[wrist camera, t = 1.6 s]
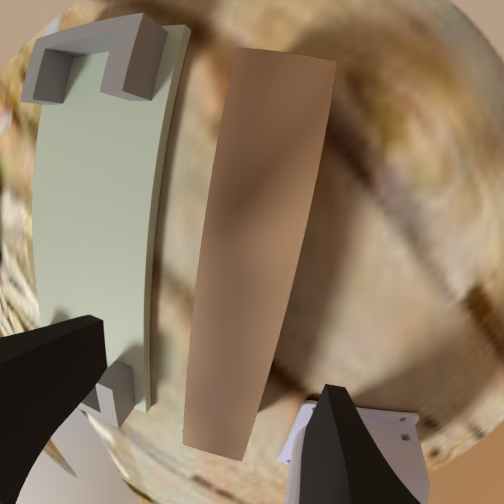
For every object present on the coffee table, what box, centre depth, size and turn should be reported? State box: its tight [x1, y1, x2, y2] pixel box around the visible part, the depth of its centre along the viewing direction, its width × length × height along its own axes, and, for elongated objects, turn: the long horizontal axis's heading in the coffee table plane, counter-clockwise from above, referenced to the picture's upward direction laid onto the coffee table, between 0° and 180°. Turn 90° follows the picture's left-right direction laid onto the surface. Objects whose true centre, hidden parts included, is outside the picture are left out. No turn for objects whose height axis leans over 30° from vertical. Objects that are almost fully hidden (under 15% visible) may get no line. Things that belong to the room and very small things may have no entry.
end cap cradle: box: [20, 13, 191, 429], centre depth 17 cm, size 11×28×4 cm, turn 169°
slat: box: [183, 48, 337, 461], centre depth 15 cm, size 4×22×5 cm, turn 169°
